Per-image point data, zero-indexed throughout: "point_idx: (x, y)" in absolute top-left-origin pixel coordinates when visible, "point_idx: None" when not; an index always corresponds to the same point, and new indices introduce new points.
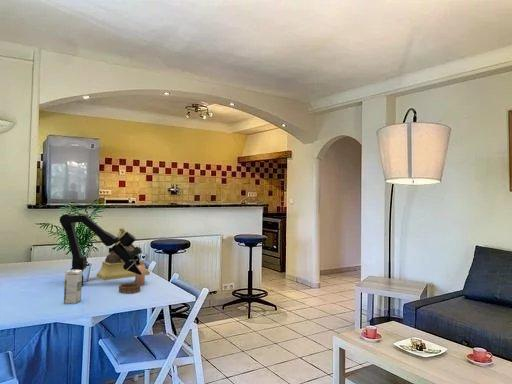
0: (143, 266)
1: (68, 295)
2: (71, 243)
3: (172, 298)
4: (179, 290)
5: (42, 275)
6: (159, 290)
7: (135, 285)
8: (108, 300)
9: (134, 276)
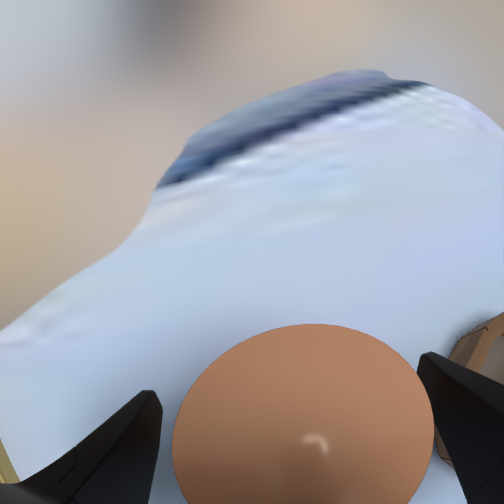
0: (370, 342)
1: None
2: None
3: (500, 141)
4: (387, 117)
5: None
6: (430, 203)
7: None
8: None
9: (12, 467)
